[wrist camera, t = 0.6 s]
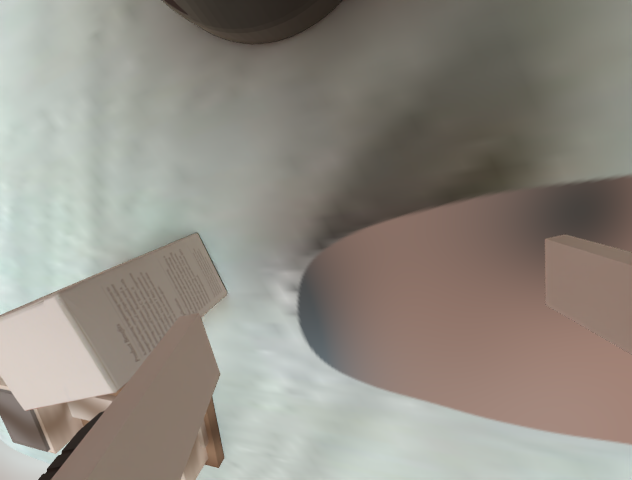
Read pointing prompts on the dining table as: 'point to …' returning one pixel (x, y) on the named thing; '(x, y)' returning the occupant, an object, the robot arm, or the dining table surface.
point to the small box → (103, 325)
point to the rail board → (68, 418)
